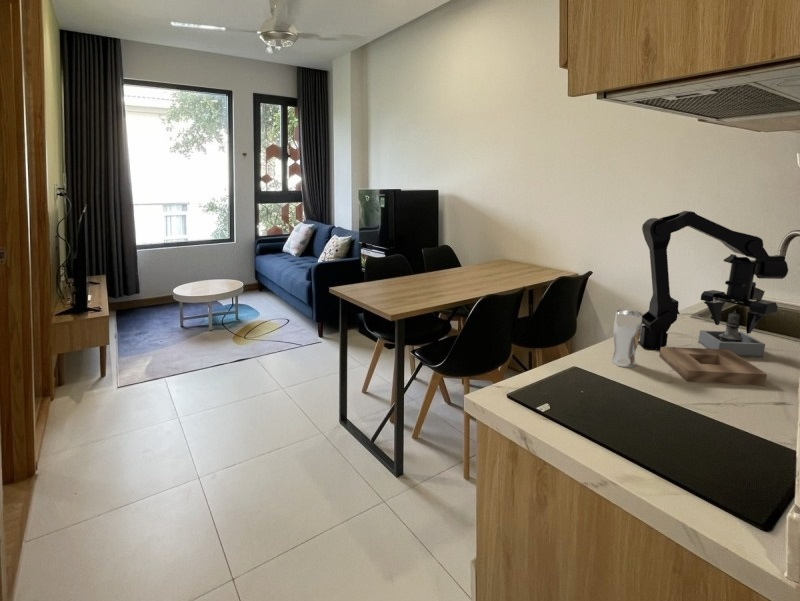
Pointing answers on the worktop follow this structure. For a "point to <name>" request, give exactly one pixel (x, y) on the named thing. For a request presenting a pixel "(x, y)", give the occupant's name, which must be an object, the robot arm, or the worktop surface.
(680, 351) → the socket block
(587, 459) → the worktop surface
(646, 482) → the worktop surface
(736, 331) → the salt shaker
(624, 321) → the beer glass
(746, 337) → the bin
